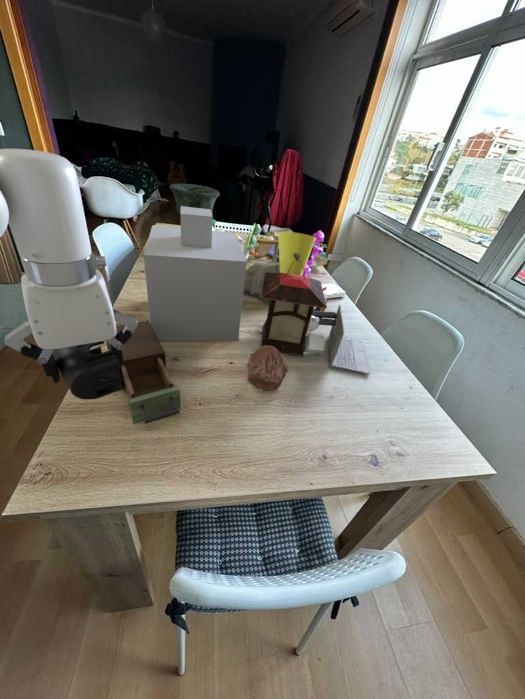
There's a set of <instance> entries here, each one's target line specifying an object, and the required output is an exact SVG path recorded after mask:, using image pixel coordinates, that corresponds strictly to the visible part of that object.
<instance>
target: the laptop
mask: <svg viewBox="0 0 525 699" xmlns="http://www.w3.org/2000/svg"><path fill="white" fill-rule="evenodd" d="M335 313H336V314H337V316H336V318H334V320H335V321H336V323H335V325H334V326H331V329H330V330H329V335H328V339H329V340H328V341H329V355H330V356H329V357H330V358H329V359H330V367H332V368H337V369H342V370H345V371H346V370H347V371H352V372H357V373H364V374H369V375H370V374H371V368H370V365H369V360H368V357H367V352H366V347H365V344H364V341H362V340H358V339H353V338H348V337H344V335H345V328H344V321H343V314H342V307H341V304H338V308H337V310H336V312H335Z"/></svg>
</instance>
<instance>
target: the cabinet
mask: <svg viewBox="0 0 525 699" xmlns="http://www.w3.org/2000/svg"><path fill="white" fill-rule="evenodd" d="M124 327H125V325H124V324H116V330H117V334H118V333H119V332H120V331H121V330H122V328H124ZM105 345H106V349H107V351H110V350H111V348H110V344H109V343H108V342H107V341H105ZM122 355H123V362H119V363H120V364H124V363H129V362H133V361H138V360H142V359H147V358H152V357H156V356H160V358H161V360H162V362H163V364H164V366H165V368H166V369H167V358H166V357H167V356H166V351H165V348H164V347H163V345H162V344H161V340H159V339H158V337H157V336H156V334H155V332H154V330H153V328H152V326H151V324H150V320H143V321H138V326H137V328H136V329H135V331H134V332H133V333H132V336H131V338H130V339H129V340H128V341H127V342H126V343H125V344H124V345H123V349H122ZM120 368H121V367H120ZM115 372H116V374H117V375H119V374H121V377H122V373H121V369H120V370H117V371H115ZM121 384H122V389H121V390H126V388H125V385H124V382H123V378H122V382H121Z"/></svg>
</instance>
